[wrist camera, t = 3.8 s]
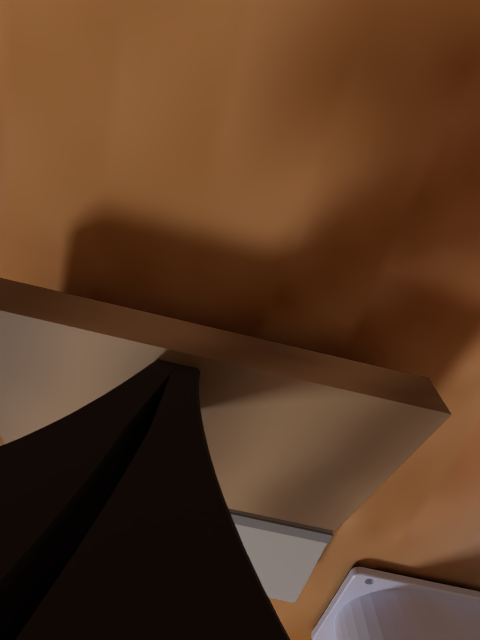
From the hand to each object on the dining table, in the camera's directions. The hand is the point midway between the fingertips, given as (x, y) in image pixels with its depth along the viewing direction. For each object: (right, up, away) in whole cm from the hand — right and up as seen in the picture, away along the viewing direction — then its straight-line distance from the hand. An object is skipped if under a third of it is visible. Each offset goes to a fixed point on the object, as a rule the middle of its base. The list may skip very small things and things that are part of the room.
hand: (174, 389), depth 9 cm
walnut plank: (0, -2, +3) cm, 3 cm away
